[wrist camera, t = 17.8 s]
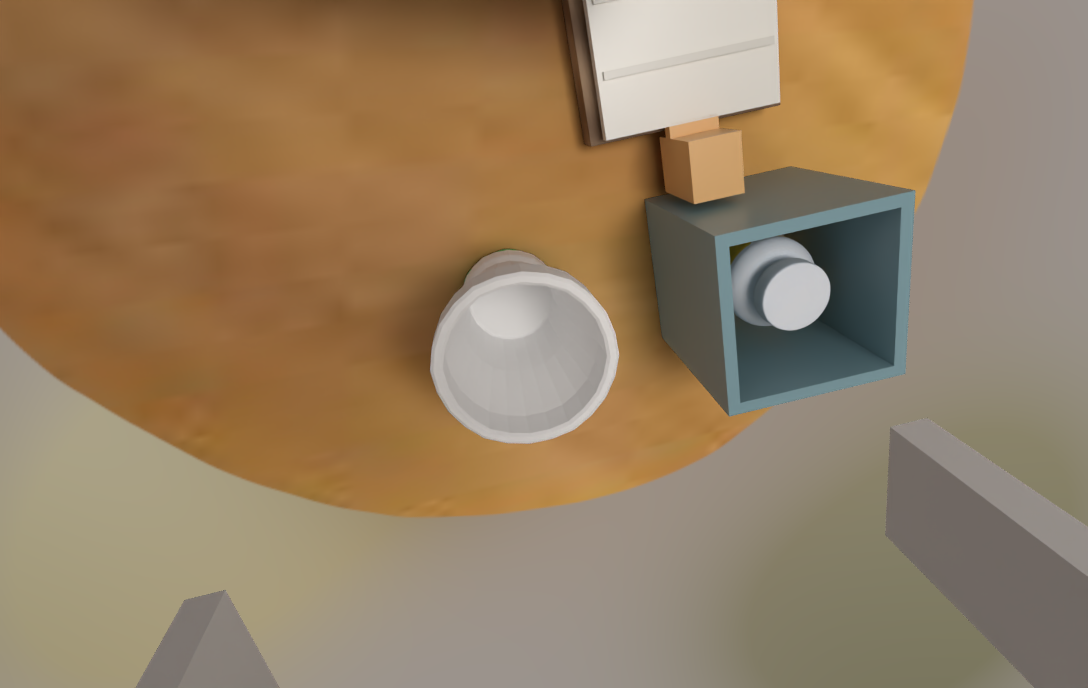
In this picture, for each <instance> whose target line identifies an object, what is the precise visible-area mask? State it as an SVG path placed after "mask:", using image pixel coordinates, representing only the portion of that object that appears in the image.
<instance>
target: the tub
mask: <svg viewBox="0 0 1088 688" xmlns="http://www.w3.org/2000/svg"><path fill="white" fill-rule="evenodd" d="M744 188H745V193H742V194H738V195H733V196H729V197H724V198H720V199H715V200H711V201H707V202H702V203H698V204H692V203H690V202H688V201H685V200H683V199H681V198H679V197H676V196H674V195H672V194H666V195H661V196H657V197H652V198H648V199H645V206H646V214H647V222H648V230H649V238H650V245H651V253H652V261H653V269H654V277H655V285H656V293H657V301H658V309H659V317H660V325H661V333H662V338H663V339H664V340H665V341H666V343H667V344H668V345H669V346H670V347H671V348H672V350H673V351H674V352H675V353H676V354H677V355H678V357H679V358H680V359H681V360H682V361H683V363H684V364H685V365H686V366H687V367H688V368H689V370H690V371H691V372H692V373H693V374H694V375H695V377H696V378H697V379H698V380H699V381H700V383H701V384H702V385H703V386H704V387H705V388H706V390H707V391H708V392H709V393H710V394H711V395H712V397H713V398H714V399H715V400H716V401H717V403H718V404H719V405H720V406H721V407H722V408H723V410H724V411H725V412H726V413H727V414H728V415H729V416H733V415H737V414H741V413H746V412H750V411H754V410H758V409H762V408H766V407H770V406H774V405H779V404H783V403H787V402H791V401H795V400H799V399H803V398H807V397H811V396H816V395H820V394H824V393H828V392H832V391H837V390H841V389H845V388H849V387H853V386H857V385H861V384H865V383H870V382H874V381H878V380H882V379H886V378H890V377H894V376H898V375H902V374H905V368H906V349H907V333H908V315H909V314H908V313H909V297H910V295H909V294H910V278H911V260H912V242H913V223H914V206H915V190H911V189H905V188H900V187H895V186H890V185H885V184H880V183H874V182H869V181H864V180H859V179H854V178H849V177H843V176H838V175H833V174H828V173H823V172H818V171H812V170H807V169H802V168H797V167H792V166H790V167H786V168H781V169H777V170H772V171H768V172H764V173H759V174H755V175H750V176H746V177H744ZM778 235H784V236H785V237H788V238H790V239H793V240H794V241H796V242H798V243H799V244H801V245H802V246H803V247H804V248H805V249H806V250H807V251H808V252H809V254H810V255H811V257H812V259H813V261H814V264H815V265H817V266H819V267H820V268H821V269H822V270H823V271H824V272H825V273H826V275H827V277H828V279H829V282H830V297H829V301H828V303H827V306H826V308H825V309H824V311H823V312H822V314H821V315H820V316H819V317H818V318H817V319H816V320H815V321H814V322H812V323H811V324H809V325H808V326H806V327H804V328H801V329H798V330H791V331H788V330H782V329H778V328H776V327H774V326H757V325H753V324H750V323H747V322H745V321H743V320H742V319H740V318H739V317H737V316H736V315H735V314H734V307H733V293H732V279H731V265H730V251H729V247H730V246H735V245H739V244H743V243H748V242H752V241H756V240H761V239H765V238H770V237H774V236H778Z"/></svg>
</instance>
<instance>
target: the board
mask: <svg viewBox="0 0 1088 688" xmlns="http://www.w3.org/2000/svg"><path fill="white" fill-rule="evenodd" d="M562 7H563V13H564V19H565V25H566V32H567V38H568V44H569V50H570V56H571V63H572V69H573V75H574V81H575V88H576V94H577V100H578V106H579V112H580V119H581V125H582V131H583V137H584V144H585V145H588V146H596V145H600V144H605V143H610V142H614V141H619V140H623V139H628V138H632V137H637V136H641V135H646V134H651V133H655V132H660V131H664V130H665V128H662V129H657V130H652V131H648V132H643V133H639V134H634V135H630V136H625V137H621V138H616V139H612V140H607V141H606V140H603V135H602V128H601V121H600V115H599V108H598V101H597V94H596V88H595V81H594V74H593V67H592V61H591V54H590V47H589V40H588V34H587V27H586V20H585V13H584V7H583V0H562ZM778 105H780V103H775V104H771V105H766V106H762V107H757V108H753V109H748V110H744V111H739V112H734V113H730V114H725V115H721V116H718V118H723V117H728V116H732V115H737V114H741V113H746V112H751V111H755V110H760V109H764V108H769V107H773V106H778Z"/></svg>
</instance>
